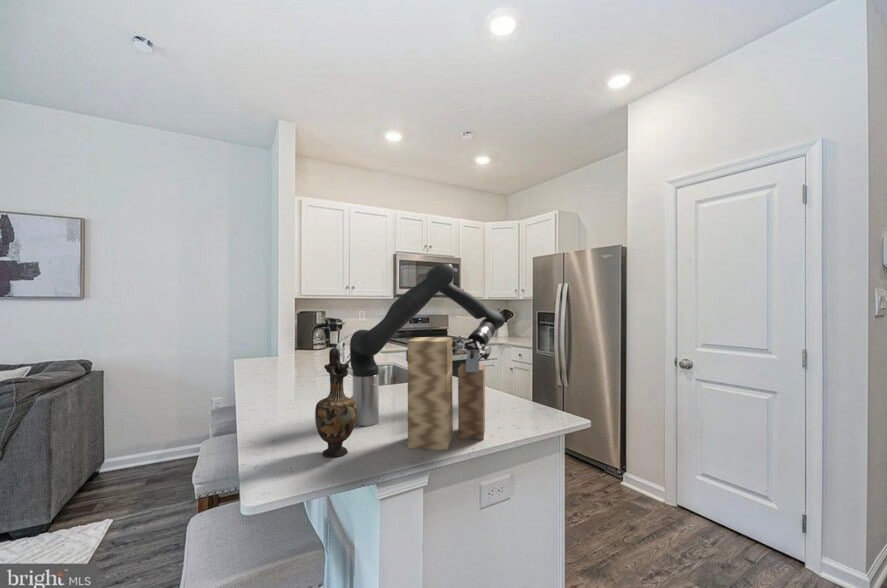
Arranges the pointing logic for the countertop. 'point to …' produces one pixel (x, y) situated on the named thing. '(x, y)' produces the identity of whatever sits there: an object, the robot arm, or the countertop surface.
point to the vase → (335, 409)
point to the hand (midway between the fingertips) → (465, 355)
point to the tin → (472, 361)
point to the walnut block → (471, 403)
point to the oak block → (430, 393)
